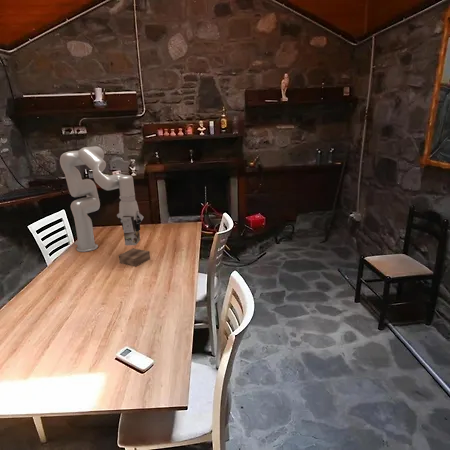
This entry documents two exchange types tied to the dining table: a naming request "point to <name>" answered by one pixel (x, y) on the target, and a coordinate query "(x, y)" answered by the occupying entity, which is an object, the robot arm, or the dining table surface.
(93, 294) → the dining table surface
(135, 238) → the coffee box
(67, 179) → the robot arm
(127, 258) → the walnut block
